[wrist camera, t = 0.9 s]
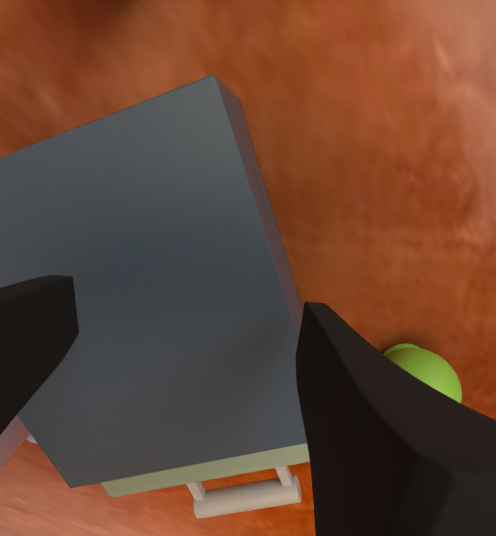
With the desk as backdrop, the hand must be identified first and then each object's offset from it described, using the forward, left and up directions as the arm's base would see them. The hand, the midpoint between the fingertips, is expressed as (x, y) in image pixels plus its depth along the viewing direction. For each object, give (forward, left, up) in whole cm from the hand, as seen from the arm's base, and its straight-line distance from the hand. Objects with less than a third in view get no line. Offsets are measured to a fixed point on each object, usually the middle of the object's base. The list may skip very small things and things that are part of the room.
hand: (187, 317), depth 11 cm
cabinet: (-3, +1, -10) cm, 10 cm away
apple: (-1, -14, -10) cm, 18 cm away
